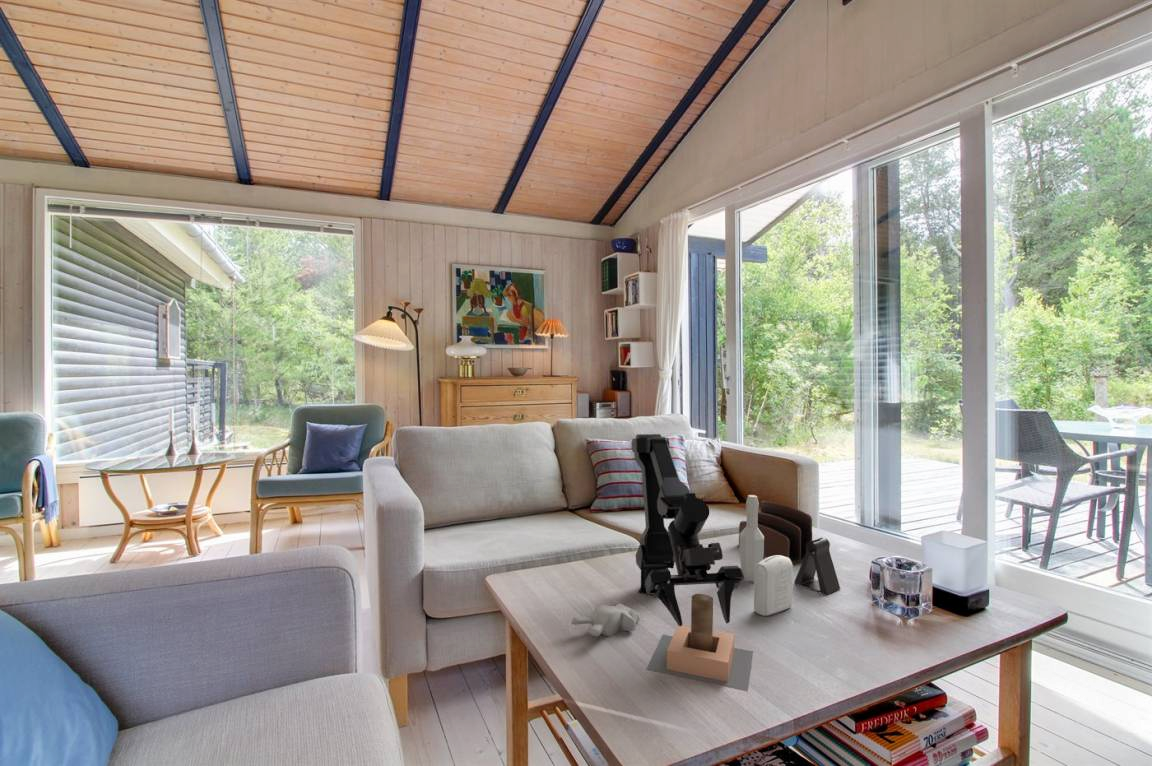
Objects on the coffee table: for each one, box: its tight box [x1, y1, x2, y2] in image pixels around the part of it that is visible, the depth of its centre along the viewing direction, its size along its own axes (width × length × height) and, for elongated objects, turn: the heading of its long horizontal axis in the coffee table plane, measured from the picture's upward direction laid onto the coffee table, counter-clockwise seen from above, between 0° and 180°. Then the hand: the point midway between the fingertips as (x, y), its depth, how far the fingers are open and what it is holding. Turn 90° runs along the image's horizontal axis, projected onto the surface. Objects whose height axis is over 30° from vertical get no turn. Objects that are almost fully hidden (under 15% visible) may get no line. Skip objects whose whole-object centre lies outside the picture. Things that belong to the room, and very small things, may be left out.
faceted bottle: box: [739, 494, 764, 583], centre depth 146 cm, size 6×6×22 cm
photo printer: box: [753, 555, 794, 617], centre depth 128 cm, size 10×4×12 cm, turn 123°
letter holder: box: [738, 500, 813, 566], centre depth 166 cm, size 10×20×14 cm, turn 26°
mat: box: [646, 634, 754, 692], centre depth 106 cm, size 18×14×1 cm
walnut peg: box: [690, 593, 714, 652], centre depth 106 cm, size 4×4×12 cm
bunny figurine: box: [571, 603, 641, 637], centre depth 118 cm, size 10×5×15 cm
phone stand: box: [793, 537, 841, 596], centre depth 142 cm, size 9×6×12 cm, turn 35°
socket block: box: [667, 624, 735, 682], centre depth 106 cm, size 11×11×4 cm
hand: (704, 624), depth 104 cm, fingers open, 9 cm apart
